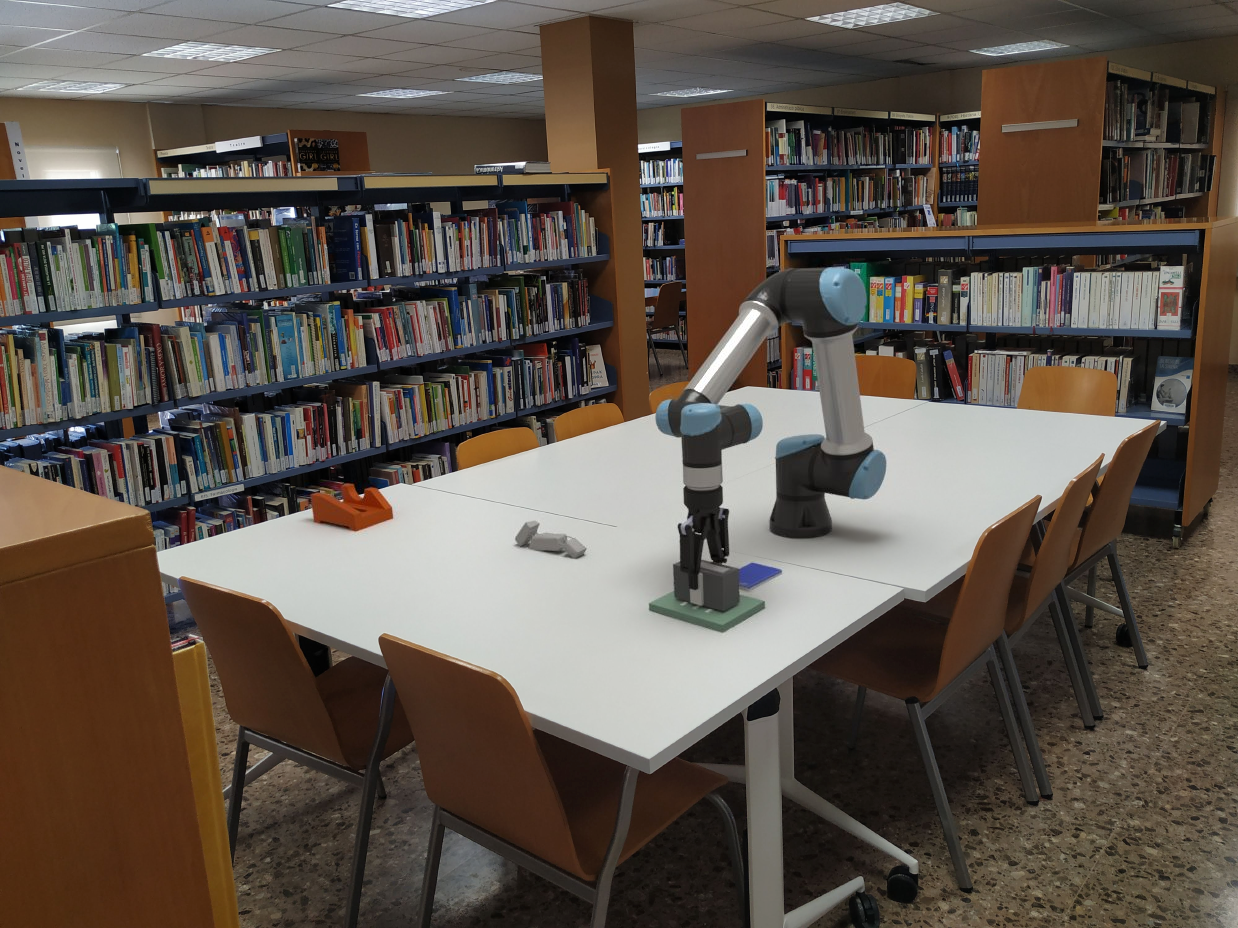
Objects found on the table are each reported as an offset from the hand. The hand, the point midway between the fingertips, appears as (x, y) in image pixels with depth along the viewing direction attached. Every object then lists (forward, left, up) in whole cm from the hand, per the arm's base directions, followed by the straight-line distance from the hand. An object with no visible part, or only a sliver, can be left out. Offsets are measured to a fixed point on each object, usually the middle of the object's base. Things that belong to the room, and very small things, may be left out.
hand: (706, 598), depth 184 cm
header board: (0, 0, -2) cm, 2 cm away
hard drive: (-19, -3, -3) cm, 19 cm away
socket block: (0, 0, 0) cm, 0 cm away
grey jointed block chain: (-7, -52, -3) cm, 53 cm away
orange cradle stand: (+6, -116, -3) cm, 117 cm away
